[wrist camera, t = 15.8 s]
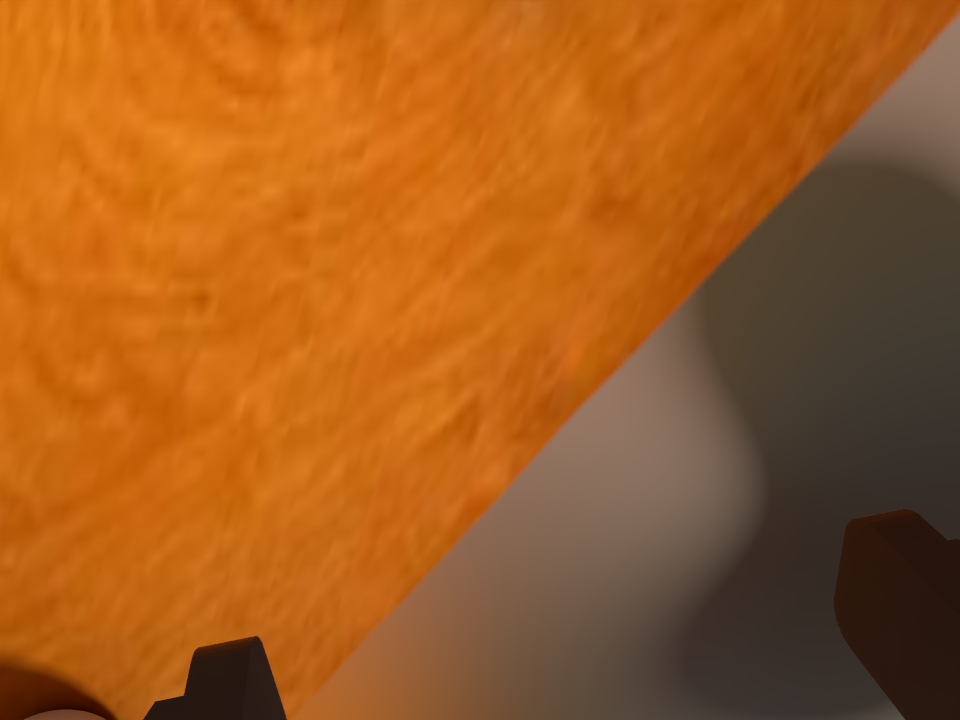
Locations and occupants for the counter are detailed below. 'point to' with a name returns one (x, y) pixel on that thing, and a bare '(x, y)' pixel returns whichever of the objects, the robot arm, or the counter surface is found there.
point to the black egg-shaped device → (65, 715)
